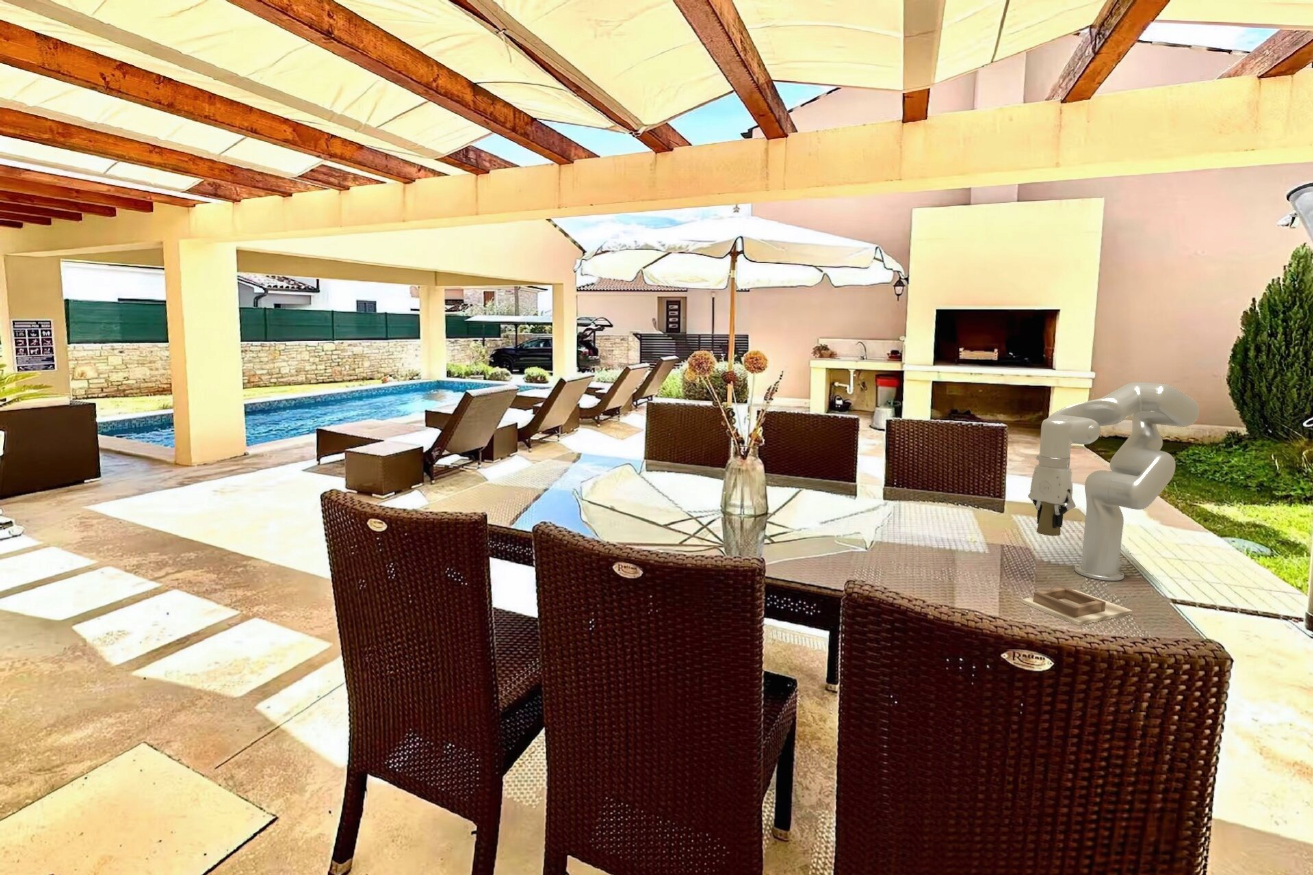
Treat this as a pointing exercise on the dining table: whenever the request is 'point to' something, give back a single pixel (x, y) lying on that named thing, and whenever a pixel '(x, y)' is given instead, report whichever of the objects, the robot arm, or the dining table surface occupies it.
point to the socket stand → (1075, 606)
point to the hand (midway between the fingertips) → (1049, 524)
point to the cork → (1047, 520)
